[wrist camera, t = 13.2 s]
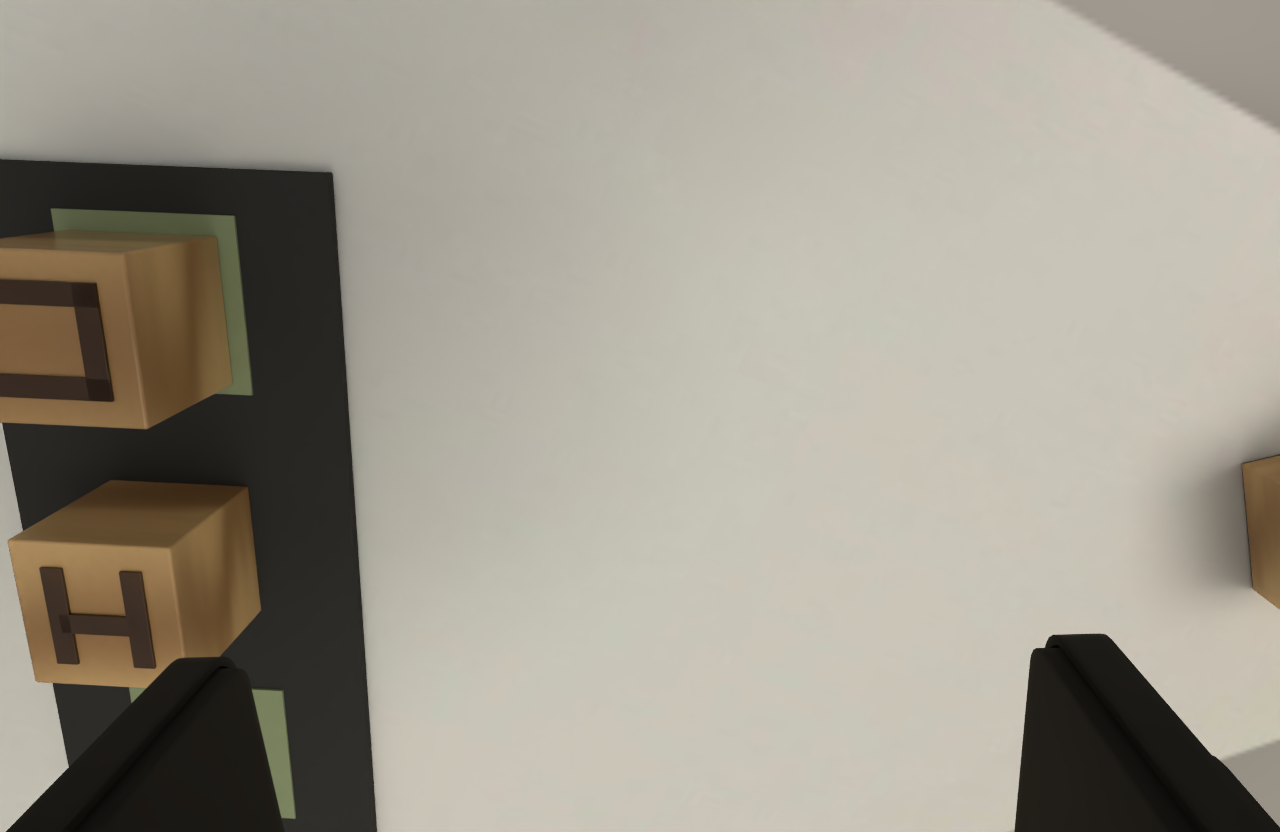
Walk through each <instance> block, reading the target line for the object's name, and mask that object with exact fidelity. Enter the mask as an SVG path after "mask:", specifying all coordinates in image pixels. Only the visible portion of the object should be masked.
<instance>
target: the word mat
mask: <svg viewBox="0 0 1280 832" xmlns="http://www.w3.org/2000/svg"><path fill="white" fill-rule="evenodd" d="M62 230H82V231H107V232H131V233H155V234H180V235H204V236H215V237H216V238H217V245H218V255H219V264H220V273H221V282H222V291H223V300H224V310H225V319H226V328H227V337H228V346H229V355H230V365H231V374H232V385H230V386H228V387H226V388H224V389H223V390H221V391H219V392H217V393H215V394H213V395H211V396H209V397H207V398H205V399H204V400H202V401H200V402H198V403H196V404H194V405H192V406H190V407H188V408H186V409H185V410H183V411H181V412H179V413H177V414H175V415H173V416H171V417H169V418H167V419H166V420H164V421H162V422H160V423H158V424H156V425H154V426H152V427H150V428H148V429H130V428H109V427H88V426H66V425H45V424H24V423H2V425H3V430H4V435H5V440H6V445H7V450H8V456H9V461H10V466H11V471H12V476H13V481H14V486H15V492H16V497H17V502H18V507H19V512H20V517H21V523H22V528H23V531H24V530H26V529H28V528H29V527H31V526H33V525H34V524H36V523H38V522H40V521H41V520H43V519H45V518H46V517H48V516H50V515H52V514H53V513H55V512H57V511H58V510H60V509H62V508H64V507H65V506H67V505H69V504H70V503H72V502H74V501H76V500H77V499H79V498H81V497H82V496H84V495H86V494H88V493H89V492H91V491H93V490H94V489H96V488H98V487H100V486H101V485H103V484H105V483H106V482H108V481H110V480H123V481H143V482H163V483H184V484H204V485H224V486H245V487H248V491H249V501H250V510H251V519H252V529H253V538H254V547H255V557H256V566H257V575H258V585H259V594H260V604H261V611H260V612H259V613H258V614H257V616H256V617H255V618H254V619H253V620H252V621H251V622H250V623H249V624H248V626H247V627H246V628H245V629H244V630H243V631H242V632H241V633H240V634H239V636H238V637H237V638H236V639H235V640H234V641H233V642H232V643H231V644H230V646H229V647H228V648H227V649H226V650H225V651H224V652H223V653H222V655H221V656H220V657H228V658H230V659H231V660H232V661H233V662H234V664H235V666H236V668H241V669H243V670H245V671H246V673H247V674H248V677H249V680H250V684H251V688H252V692H253V697H254V701H255V705H256V710H257V714H258V718H259V723H260V727H261V731H262V736H263V740H264V744H265V749H266V753H267V757H268V762H269V766H270V770H271V775H272V779H273V783H274V788H275V792H276V796H277V801H278V805H279V809H280V814H281V818H282V822H283V827H284V831H285V832H377V827H376V812H375V798H374V783H373V768H372V753H371V738H370V723H369V709H368V694H367V679H366V664H365V649H364V634H363V620H362V605H361V590H360V575H359V560H358V545H357V530H356V516H355V501H354V486H353V471H352V456H351V441H350V427H349V412H348V397H347V382H346V367H345V352H344V338H343V323H342V308H341V293H340V278H339V263H338V248H337V234H336V219H335V204H334V189H333V174H332V173H328V172H303V171H278V170H253V169H227V168H202V167H177V166H152V165H127V164H102V163H76V162H51V161H26V160H1V159H0V238H8V237H16V236H23V235H31V234H39V233H47V232H54V231H62ZM53 687H54V693H55V698H56V703H57V708H58V713H59V718H60V723H61V729H62V734H63V739H64V744H65V749H66V754H67V759H68V765H69V767H70V766H71V765H72V764H73V763H74V762H75V761H76V760H77V759H78V758H79V757H80V756H81V754H82V753H83V752H84V751H85V750H86V749H87V748H88V747H89V746H90V745H91V744H92V743H93V742H94V741H95V740H96V739H97V738H98V737H99V736H100V735H101V734H102V733H103V732H104V731H105V730H106V729H107V728H108V727H109V726H110V725H111V724H112V723H113V722H114V721H115V720H116V719H117V718H118V717H119V716H120V715H121V714H122V713H123V712H124V711H125V709H126V708H127V707H128V706H129V705H130V704H131V703H132V702H133V701H134V700H135V699H136V698H137V697H138V696H139V695H140V694H141V693H142V692H143V691H144V690H145V689H146V688H135V687H117V686H99V685H81V684H63V683H53Z"/></svg>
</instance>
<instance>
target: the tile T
mask: <svg viewBox="0 0 1280 832" xmlns="http://www.w3.org/2000/svg"><path fill="white" fill-rule="evenodd" d="M1242 468H1243V479H1244V490H1245V502H1246V513H1247V524H1248V536H1249V547H1250V558H1251V570H1252V581H1253V589H1254V591H1256V592H1257V593H1258V594H1260V595H1261V596H1262V597H1264V598H1265V599H1266V600H1268V601H1269V602H1270V603H1272V604H1273V605H1274V606H1276V607H1277V608H1278V609H1280V455H1279V456H1275V457H1271V458H1266V459H1262V460H1258V461H1254V462H1249V463H1245V464H1243V466H1242Z"/></svg>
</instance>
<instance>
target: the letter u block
mask: <svg viewBox="0 0 1280 832" xmlns="http://www.w3.org/2000/svg"><path fill="white" fill-rule="evenodd" d="M230 385H232V374H231V365H230V355H229V346H228V337H227V328H226V319H225V310H224V300H223V291H222V282H221V273H220V264H219V255H218V245H217V238H216V237H215V236H204V235H180V234H155V233H131V232H107V231H82V230H62V231H54V232H47V233H39V234H31V235H23V236H16V237H8V238H0V422H2V423H24V424H45V425H66V426H88V427H109V428H130V429H148V428H150V427H152V426H154V425H156V424H158V423H160V422H162V421H164V420H166V419H167V418H169V417H171V416H173V415H175V414H177V413H179V412H181V411H183V410H185V409H186V408H188V407H190V406H192V405H194V404H196V403H198V402H200V401H202V400H204V399H205V398H207V397H209V396H211V395H213V394H215V393H217V392H219V391H221V390H223V389H224V388H226V387H228V386H230Z"/></svg>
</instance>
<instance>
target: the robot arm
mask: <svg viewBox="0 0 1280 832" xmlns="http://www.w3.org/2000/svg"><path fill="white" fill-rule="evenodd" d="M6 832H285V831H284V827H283V822H282V818H281V814H280V809H279V805H278V801H277V796H276V792H275V788H274V783H273V779H272V775H271V770H270V766H269V762H268V757H267V753H266V749H265V744H264V740H263V736H262V731H261V727H260V723H259V718H258V714H257V710H256V705H255V701H254V697H253V692H252V688H251V684H250V680H249V677H248V674H247V673H246V671H245V670H243V669H241V668H236V666H235V664H234V662H233V661H232V660H231V659H230V658H228V657H187V658H179V659H176V660H175V661H173V662H172V663H171V664H169V666H168V667H167V668H166V669H165V670H164V671H163V672H162V673H161V674H160V675H159V676H158V677H157V678H156V679H155V680H154V681H153V682H152V683H151V684H150V685H149V686H148V687H147V688H146V689H145V690H144V691H143V692H142V693H141V694H140V695H139V696H138V697H137V698H136V699H135V700H134V701H133V702H132V703H131V704H130V705H129V706H128V707H127V708H126V709H125V711H124V712H123V713H122V714H121V715H120V716H119V717H118V718H117V719H116V720H115V721H114V722H113V723H112V724H111V725H110V726H109V727H108V728H107V729H106V730H105V731H104V732H103V733H102V734H101V735H100V736H99V737H98V738H97V739H96V740H95V741H94V742H93V743H92V744H91V745H90V746H89V747H88V748H87V749H86V750H85V751H84V752H83V753H82V754H81V756H80V757H79V758H78V759H77V760H76V761H75V762H74V763H73V764H72V765H71V766H70V767H69V768H68V769H67V770H66V771H65V772H64V773H63V774H62V775H61V776H60V777H59V778H58V779H57V780H56V781H55V782H54V783H53V784H52V785H51V786H50V787H49V788H48V789H47V790H46V791H45V792H44V793H43V794H42V795H41V796H40V797H39V798H38V799H37V800H36V802H35V803H34V804H33V805H32V806H31V807H30V808H29V809H28V810H27V811H26V812H25V813H24V814H23V815H22V816H21V817H20V818H19V819H18V820H17V821H16V822H15V823H14V824H13V825H12V826H11V827H10V828H9V829H8V830H7V831H6ZM1015 832H1280V827H1279V826H1278V825H1277V824H1276V823H1275V822H1274V820H1273V819H1272V818H1271V817H1270V816H1269V815H1268V814H1267V813H1266V811H1265V810H1264V809H1263V808H1262V807H1261V806H1260V804H1259V803H1258V802H1257V801H1256V800H1255V799H1254V798H1253V796H1252V795H1251V794H1250V793H1249V792H1248V791H1247V789H1246V788H1245V787H1244V786H1243V785H1242V784H1241V783H1240V781H1239V780H1237V778H1236V777H1235V776H1234V775H1233V773H1232V772H1231V771H1230V770H1229V769H1228V768H1227V767H1226V766H1225V765H1224V764H1223V763H1222V762H1221V761H1220V760H1218V759H1217V758H1216V757H1215V756H1212V755H1211V754H1210V753H1209V752H1208V750H1207V749H1206V748H1205V747H1204V746H1203V745H1202V743H1201V742H1200V741H1199V740H1198V739H1197V738H1196V737H1195V735H1194V734H1193V733H1192V732H1191V731H1190V730H1189V728H1188V727H1187V726H1186V725H1185V724H1184V723H1183V721H1182V720H1181V719H1180V718H1179V717H1178V716H1177V715H1176V713H1175V712H1174V711H1173V710H1172V709H1171V708H1170V706H1169V705H1168V704H1167V703H1166V702H1165V701H1164V699H1163V698H1162V697H1161V696H1160V695H1159V694H1158V693H1157V691H1156V690H1155V689H1154V688H1153V687H1152V686H1151V684H1150V683H1149V682H1148V681H1147V680H1146V679H1145V678H1144V676H1143V675H1142V674H1141V673H1140V672H1139V671H1138V669H1137V668H1136V667H1135V666H1134V665H1133V664H1132V662H1131V661H1130V660H1129V659H1128V658H1127V657H1126V656H1125V654H1124V653H1123V652H1122V651H1121V650H1120V649H1119V647H1118V646H1117V645H1116V644H1115V643H1114V642H1113V640H1112V639H1110V638H1109V637H1108V636H1107V635H1105V634H1069V635H1052V636H1051V637H1049V639H1048V641H1047V643H1046V646H1045V648H1036V649H1034V650H1033V652H1032V654H1031V659H1030V669H1029V680H1028V691H1027V702H1026V712H1025V723H1024V734H1023V745H1022V756H1021V767H1020V778H1019V789H1018V800H1017V811H1016V822H1015Z"/></svg>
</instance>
